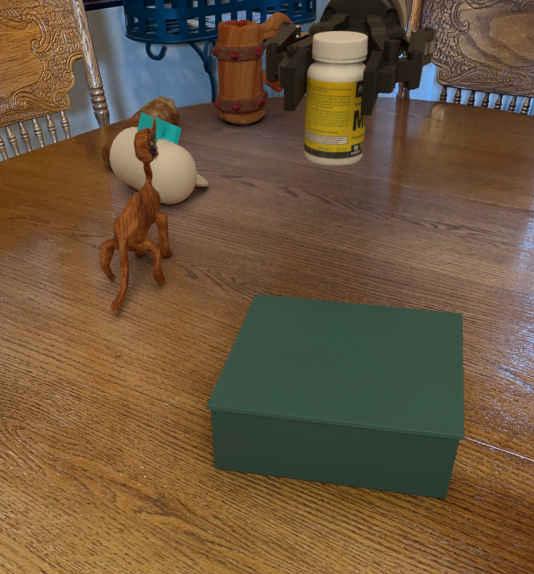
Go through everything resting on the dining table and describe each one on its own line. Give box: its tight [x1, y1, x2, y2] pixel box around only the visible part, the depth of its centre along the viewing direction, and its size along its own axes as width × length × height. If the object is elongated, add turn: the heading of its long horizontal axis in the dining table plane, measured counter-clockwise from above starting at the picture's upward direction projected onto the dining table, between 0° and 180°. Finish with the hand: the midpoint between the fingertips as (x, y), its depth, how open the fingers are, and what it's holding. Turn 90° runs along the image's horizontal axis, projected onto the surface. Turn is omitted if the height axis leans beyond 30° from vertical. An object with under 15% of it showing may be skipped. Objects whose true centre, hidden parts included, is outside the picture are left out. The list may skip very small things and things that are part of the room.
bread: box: [100, 96, 181, 168], centre depth 104 cm, size 6×19×6 cm, turn 161°
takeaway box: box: [205, 293, 465, 500], centre depth 55 cm, size 18×16×6 cm
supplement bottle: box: [303, 31, 368, 167], centre depth 53 cm, size 5×5×8 cm
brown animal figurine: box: [98, 118, 174, 312], centre depth 70 cm, size 18×7×14 cm, turn 172°
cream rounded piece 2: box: [110, 112, 209, 205], centre depth 91 cm, size 12×9×12 cm
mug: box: [211, 11, 293, 126], centre depth 113 cm, size 15×8×15 cm, turn 112°
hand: (328, 91), depth 48 cm, fingers closed on supplement bottle, 5 cm apart
